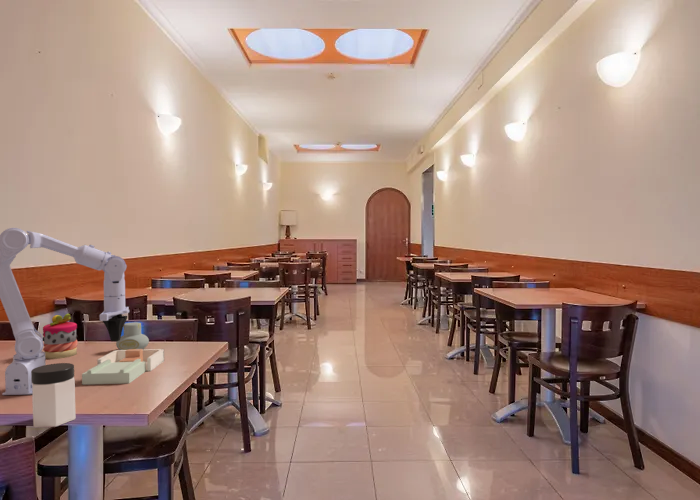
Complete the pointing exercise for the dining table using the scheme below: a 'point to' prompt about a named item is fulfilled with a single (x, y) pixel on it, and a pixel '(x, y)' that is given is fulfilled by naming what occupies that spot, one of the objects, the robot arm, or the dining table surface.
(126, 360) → the tile
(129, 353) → the tile
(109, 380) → the two-ridged green plate
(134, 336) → the air freshener
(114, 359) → the box
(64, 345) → the cake
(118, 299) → the robot arm
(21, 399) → the dining table surface
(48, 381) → the jar
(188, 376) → the dining table surface
